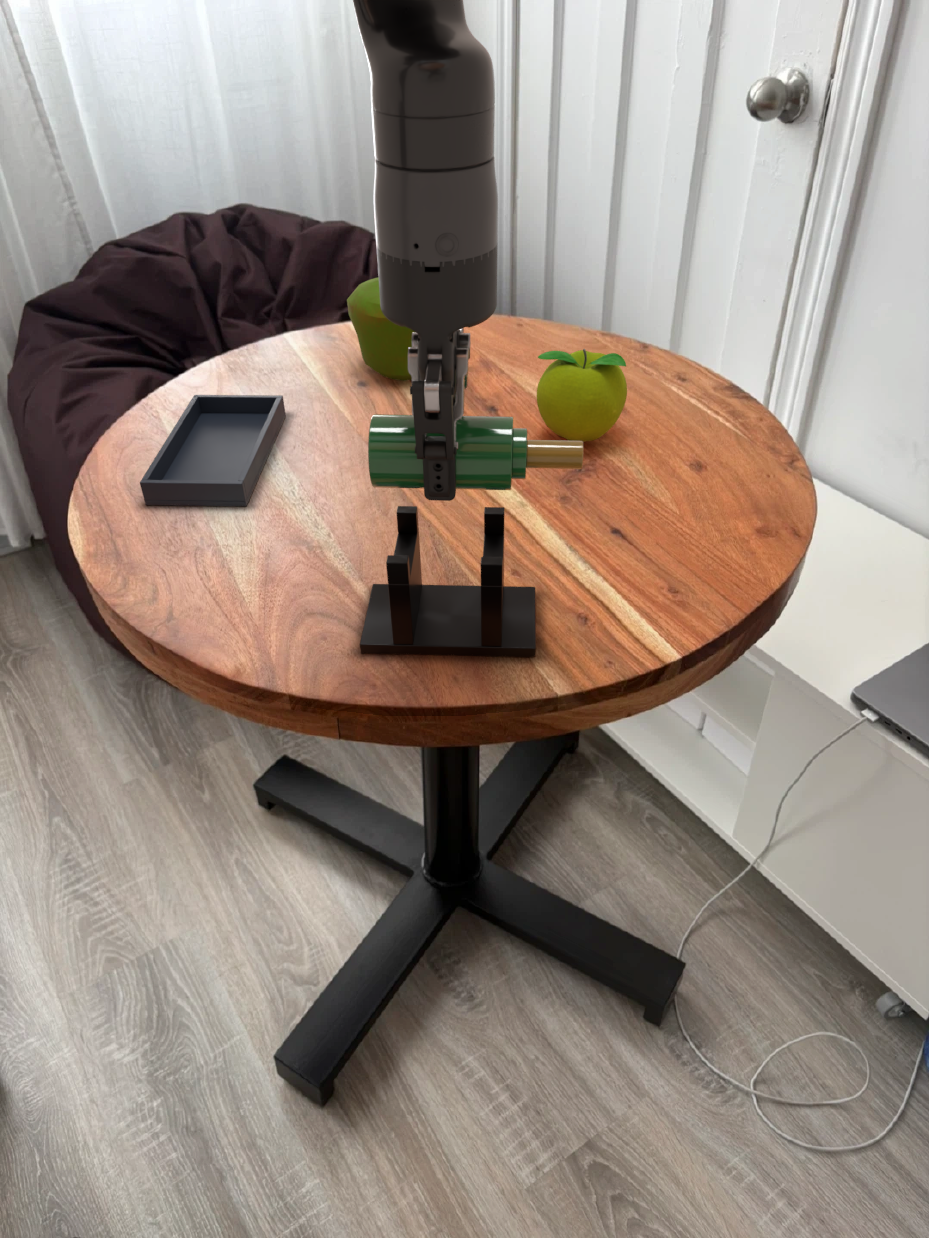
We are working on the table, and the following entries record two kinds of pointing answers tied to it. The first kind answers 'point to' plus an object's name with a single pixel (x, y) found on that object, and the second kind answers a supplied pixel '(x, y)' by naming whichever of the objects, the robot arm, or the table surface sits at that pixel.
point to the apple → (379, 333)
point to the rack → (449, 603)
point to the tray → (215, 451)
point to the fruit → (581, 393)
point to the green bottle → (465, 453)
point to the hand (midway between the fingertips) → (443, 476)
